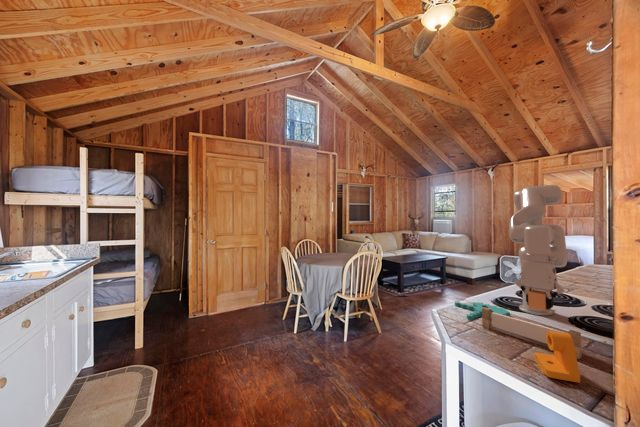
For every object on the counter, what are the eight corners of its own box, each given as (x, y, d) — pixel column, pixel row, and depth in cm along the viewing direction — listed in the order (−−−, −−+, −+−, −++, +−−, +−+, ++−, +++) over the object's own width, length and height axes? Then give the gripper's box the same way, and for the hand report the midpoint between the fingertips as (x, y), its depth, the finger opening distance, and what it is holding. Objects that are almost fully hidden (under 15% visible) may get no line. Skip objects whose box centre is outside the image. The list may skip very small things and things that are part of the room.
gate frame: (485, 325, 111) (485, 306, 111) (582, 356, 85) (581, 332, 85) (482, 327, 109) (481, 308, 109) (579, 359, 84) (578, 334, 84)
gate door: (493, 325, 107) (493, 312, 107) (569, 349, 87) (568, 333, 87) (490, 326, 106) (490, 313, 106) (567, 351, 86) (566, 334, 86)
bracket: (533, 360, 84) (532, 323, 84) (562, 365, 81) (561, 326, 81) (547, 379, 74) (545, 337, 74) (580, 385, 71) (578, 342, 71)
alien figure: (468, 320, 117) (518, 323, 113) (468, 316, 117) (518, 318, 113) (454, 305, 137) (496, 307, 133) (454, 301, 137) (496, 303, 133)
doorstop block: (534, 304, 101) (533, 289, 101) (550, 308, 97) (549, 292, 97) (528, 307, 99) (527, 291, 99) (545, 311, 94) (544, 294, 94)
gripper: (571, 260, 93) (573, 311, 92) (515, 255, 107) (517, 299, 107) (563, 262, 89) (565, 315, 89) (507, 256, 104) (509, 302, 103)
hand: (539, 306), depth 98 cm, fingers closed on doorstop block, 5 cm apart
